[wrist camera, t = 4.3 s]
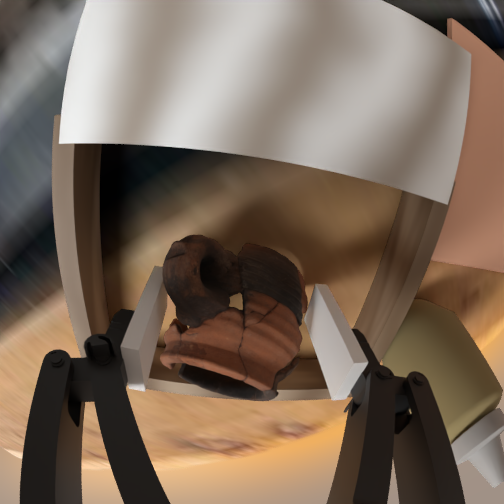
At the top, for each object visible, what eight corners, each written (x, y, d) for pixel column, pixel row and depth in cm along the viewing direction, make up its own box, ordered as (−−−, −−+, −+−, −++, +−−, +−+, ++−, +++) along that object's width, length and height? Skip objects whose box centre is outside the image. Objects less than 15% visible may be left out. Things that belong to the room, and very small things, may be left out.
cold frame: (100, 347, 21) (84, 382, 18) (110, -3, 10) (83, -27, 6) (346, 369, 24) (360, 403, 21) (441, 66, 13) (480, 61, 9)
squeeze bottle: (420, 349, 25) (496, 482, 8) (356, 359, 24) (424, 528, 8) (450, 285, 21) (564, 422, 5) (384, 287, 21) (509, 482, 4)
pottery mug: (328, 307, 21) (311, 411, 16) (227, 311, 26) (198, 394, 20) (264, 174, 14) (206, 319, 9) (143, 214, 18) (78, 312, 13)
